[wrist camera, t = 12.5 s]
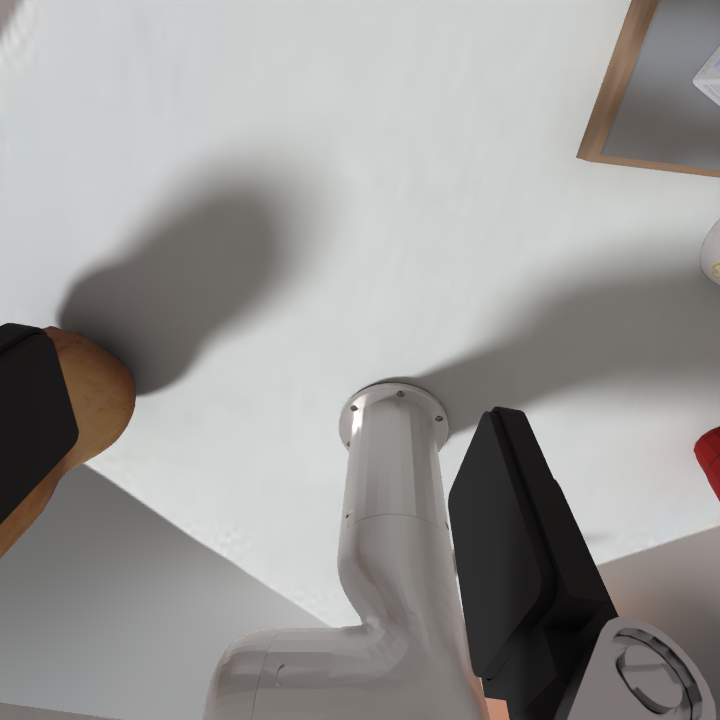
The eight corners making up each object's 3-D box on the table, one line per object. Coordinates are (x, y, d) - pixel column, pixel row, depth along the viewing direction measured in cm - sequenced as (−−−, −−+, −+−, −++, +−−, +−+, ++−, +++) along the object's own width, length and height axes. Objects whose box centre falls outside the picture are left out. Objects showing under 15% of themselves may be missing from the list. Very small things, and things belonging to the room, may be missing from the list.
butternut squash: (183, 382, 46) (9, 620, 25) (106, 424, 50) (-96, 656, 29) (83, 282, 40) (-256, 485, 19) (6, 340, 44) (-339, 556, 23)
